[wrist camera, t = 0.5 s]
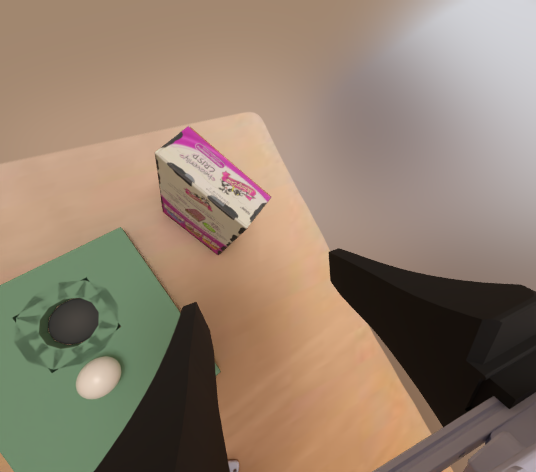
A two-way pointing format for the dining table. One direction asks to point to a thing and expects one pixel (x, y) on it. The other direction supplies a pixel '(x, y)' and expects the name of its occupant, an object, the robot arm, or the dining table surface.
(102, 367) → the ball
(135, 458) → the robot arm
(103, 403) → the putting mat
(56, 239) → the dining table surface
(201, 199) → the candy bar box
